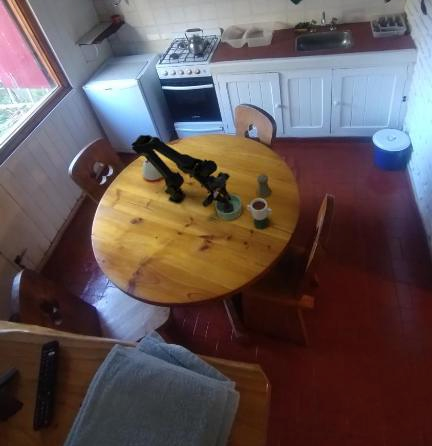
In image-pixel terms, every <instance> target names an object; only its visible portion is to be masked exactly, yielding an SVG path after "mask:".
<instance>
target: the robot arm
mask: <svg viewBox="0 0 432 446" xmlns="http://www.w3.org/2000/svg"><path fill="white" fill-rule="evenodd" d="M131 149H132V150H133V151H134V152H135V153H136V154H137V155H139V156H141V157H144V158H145V159H146V158H147V160H148V161H149V162H150V163H151V164H152V165H153V166H154V167H155V168H156V170H157V171H158V172H159V173H160V174H161V175H162V176H163V177H164V179H163V180H164V183H165V185H166V188H165V189H164V193H165V194H166V195H169V198H168V201H170V202H174V203H176V204H180V203H181V202H182V201H183V200H184V198H185V197H186V193H184V191H183V189H182V186H183V185H184V183H185V179H184V176H183V175H182V174H181V173H180V172H182V173H183V174H185V175H189V179H192V178H193V179H195V180H196V181H197V182H198V184H200V187H201V188H202V189H203V188H204V189H205V190H207V195H206V196H205V197H204V198H203V200H202V201H201V205H202V207H204V208H207V207H208V206H210V205H212V204H213V203H214V202H216V201H219V202H222V203H225V204H229V203H228V202H227V201H226V200H225V199H224V198H223V197H222V196H224V195H225V194H227V195H228V198H229V200H231V198H230V196H229V194H230V193H229V191H228V190H227V182H228V180H229V179H230V178H231V175H229V173H227V172H223V171H219V172H218V174H217V175H216V176H214V175H213V174H214V173H216V172H217V171H218V164H217V163H216V161H215V160H211V159H209V160H207V159H206V158H205V159H204V160H203V159H201V158H196V157H193V156H191V155H189V154H188V153H187V154H186V153H181V152H179V151H178V150H176V149H174V148H173V147H172V146H170V145H168V144H166V143H165V142H163V141H162V140H161V139H160V138H159V137H158V136H152V135H151V134H139V136H137V138H136V139H135V140H134V141H133V142H132V143H131ZM156 152H157V153H158V154H157V153H156ZM159 155H162V156H163V157H164V158H166V159H168V160H169V161H171V162H172V163H174V164H175V165H176V167H177V169H178V170H179V171H180V172H178V171H177V172H175V171H172V170H171V168H170V167H169V166H168V165H167V164H166V162H164V160H163V159H162V158H161V157H160V156H159Z"/></svg>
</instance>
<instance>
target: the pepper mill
mask: <svg viewBox="0 0 432 446" xmlns="http://www.w3.org/2000/svg"><path fill="white" fill-rule="evenodd" d="M268 181H269V177H268V175H267V174H265V173H260V174H258V175H257V177H256V182H257V183H258V184H257V195H258V196H259V197H260V198H266V197H269V196H270V195H271V189H270V187H269V183H268Z"/></svg>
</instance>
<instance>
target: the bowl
mask: <svg viewBox="0 0 432 446" xmlns="http://www.w3.org/2000/svg"><path fill="white" fill-rule="evenodd" d="M228 194H229V196H230V198H231V200H229V202H230V203H232V204H233V206H234V211H233V212H231V213H224V210H223V205H224V204H225V203H222V202H219V201H215V205H214V206H215V210H216V214H217V216H218V217H219V218H220V219H222V220H223V221H233V220H236V219H238V218H239V217H240V216H241V215H242V213H243V203H242V200H241V198H240V196H238V195H236V194H234V193H233V194H232V193H228ZM221 196H222V197H223V195H221Z"/></svg>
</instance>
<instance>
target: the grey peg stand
mask: <svg viewBox="0 0 432 446" xmlns="http://www.w3.org/2000/svg"><path fill="white" fill-rule="evenodd" d="M222 196H223V195H222ZM223 198H224V199H225V200H226V201H227V202H228V203H229V204H224V205H223V210H224V213H231V212H233V211H234V206H233V204H232V203H230V202H229V198H228V195H227V194H225V195H224V196H223Z"/></svg>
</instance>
